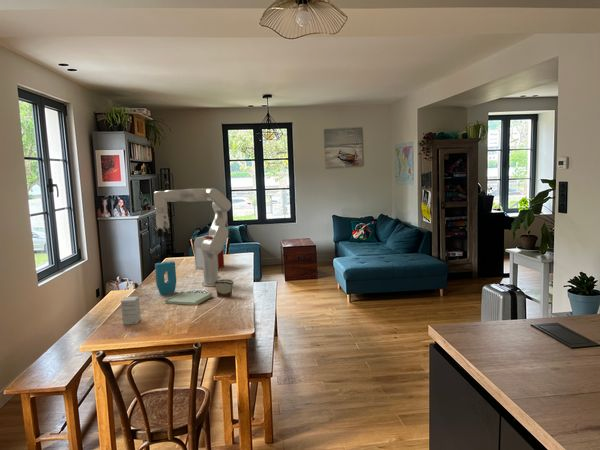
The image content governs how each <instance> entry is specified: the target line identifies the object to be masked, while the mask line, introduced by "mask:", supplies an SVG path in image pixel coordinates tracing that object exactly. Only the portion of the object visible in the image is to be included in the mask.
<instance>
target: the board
mask: <svg viewBox="0 0 600 450" xmlns="http://www.w3.org/2000/svg"><path fill="white" fill-rule="evenodd" d="M199 295H200V296H199ZM212 297H213V293H212V292H210V293H202V292H199V293H198V292H185V291H181V292H179V293H177V294H174V295H171V296H170V297H167V298H166V299H165V300H164V303H165V304H170V305H172V304H173V305H186V306H187V305H190V306H198V305H200V304H201V303H203V302H204V301H207V300H208V299H210V298H212Z"/></svg>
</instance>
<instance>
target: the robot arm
mask: <svg viewBox="0 0 600 450" xmlns="http://www.w3.org/2000/svg"><path fill="white" fill-rule="evenodd" d="M153 200H154V201H153V202H154V203H153V204H154V214H155V224H156V233H157V238H163V239H169V238H170V235H169V234H170V232H169V229H170V219H169V214H168V212H169V211H168V202H169V203H171V202H172V203H175V202H192V203H193V202H212V203H211V207H212V209H213V212H214V217H213V220H212V223H211V224H210V228H209V230H208V235H209V236H210V237H212V238H213V240H212V239H206V240H204V241H203V242H202V243H201V251H202V256H203V269H204V270H203V282H202V283H201V285H202V287H216V285H215V281H217V280H221V276H220V275H219V272H218V270H219V268H217V256H216V254H219V253H220V252H221V251H222V249H223V250H224V246H225V245H226V243H227V240H228V237H229V229H228V228H227V227H226V224H227V221H228V215H227V212H229V211H230V210H231V207H232V204H231V201H230V200H229V199H228V198H227V197H226V196H225V195H224V194H223V193H222V192H220V191H219V190H218V189H217V188H213V187H211V188H210V187H207V188H204V187H202V188H186V189H166V190H158V191H154V192H153Z"/></svg>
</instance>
